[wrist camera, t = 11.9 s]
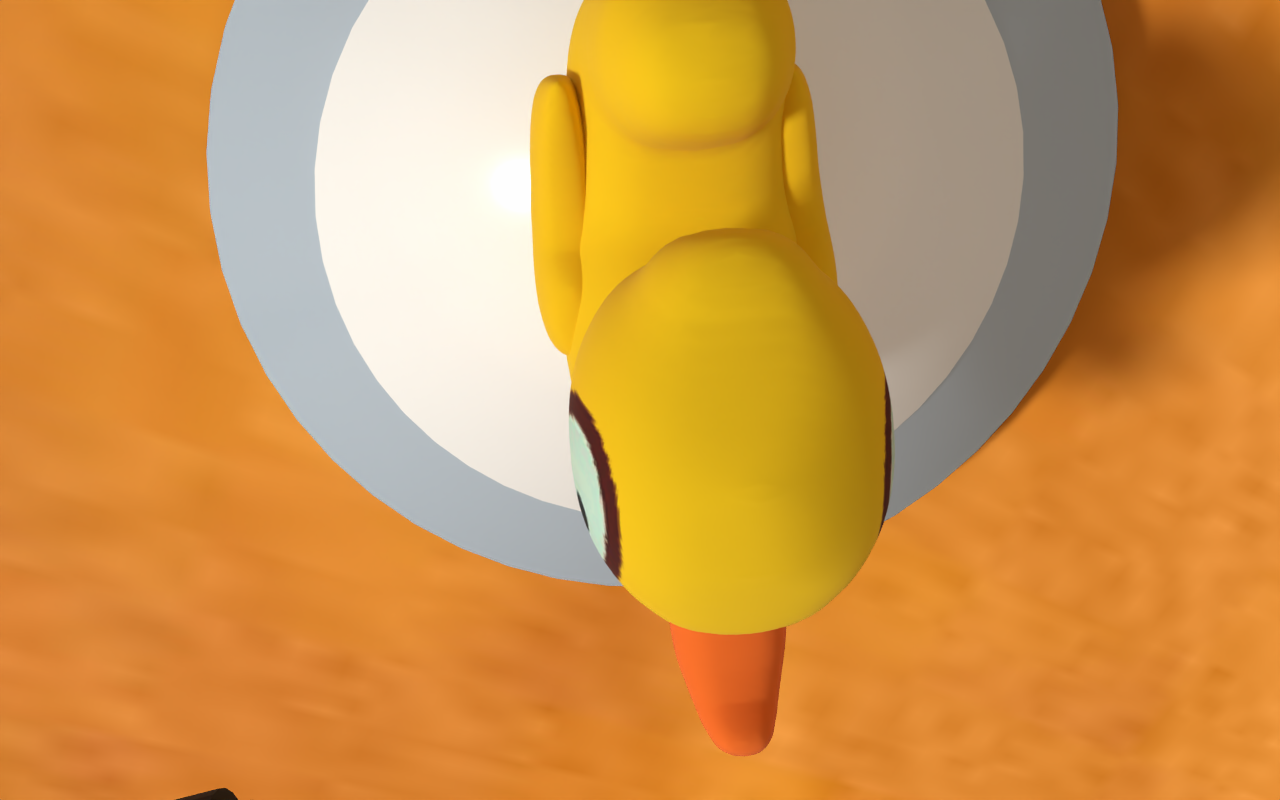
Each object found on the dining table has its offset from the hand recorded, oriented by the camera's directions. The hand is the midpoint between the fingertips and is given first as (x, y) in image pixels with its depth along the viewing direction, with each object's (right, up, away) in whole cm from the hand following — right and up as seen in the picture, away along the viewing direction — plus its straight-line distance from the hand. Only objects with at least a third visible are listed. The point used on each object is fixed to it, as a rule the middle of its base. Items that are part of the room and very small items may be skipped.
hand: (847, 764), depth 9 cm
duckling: (-1, +7, +14) cm, 15 cm away
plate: (-1, +7, +14) cm, 16 cm away
